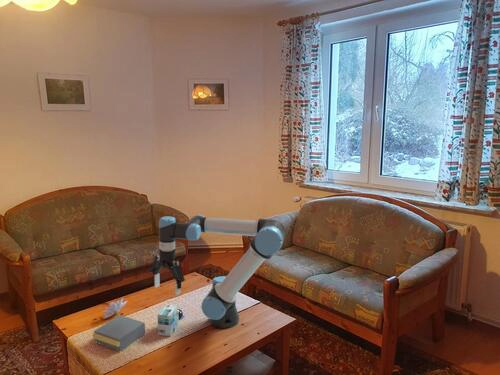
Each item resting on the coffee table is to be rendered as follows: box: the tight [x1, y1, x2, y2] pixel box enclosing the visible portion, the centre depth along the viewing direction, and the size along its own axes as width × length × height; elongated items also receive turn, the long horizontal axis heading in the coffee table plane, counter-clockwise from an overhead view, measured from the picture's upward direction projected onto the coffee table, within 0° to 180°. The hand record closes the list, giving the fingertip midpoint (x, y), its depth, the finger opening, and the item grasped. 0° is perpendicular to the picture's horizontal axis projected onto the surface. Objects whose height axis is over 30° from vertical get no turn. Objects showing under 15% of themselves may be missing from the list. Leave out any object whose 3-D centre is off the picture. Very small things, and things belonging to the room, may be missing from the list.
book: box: [92, 314, 146, 352], centre depth 179 cm, size 16×17×6 cm
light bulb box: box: [157, 304, 180, 337], centre depth 186 cm, size 11×7×11 cm, turn 168°
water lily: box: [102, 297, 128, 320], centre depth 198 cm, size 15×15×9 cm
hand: (167, 290), depth 184 cm, fingers open, 13 cm apart
